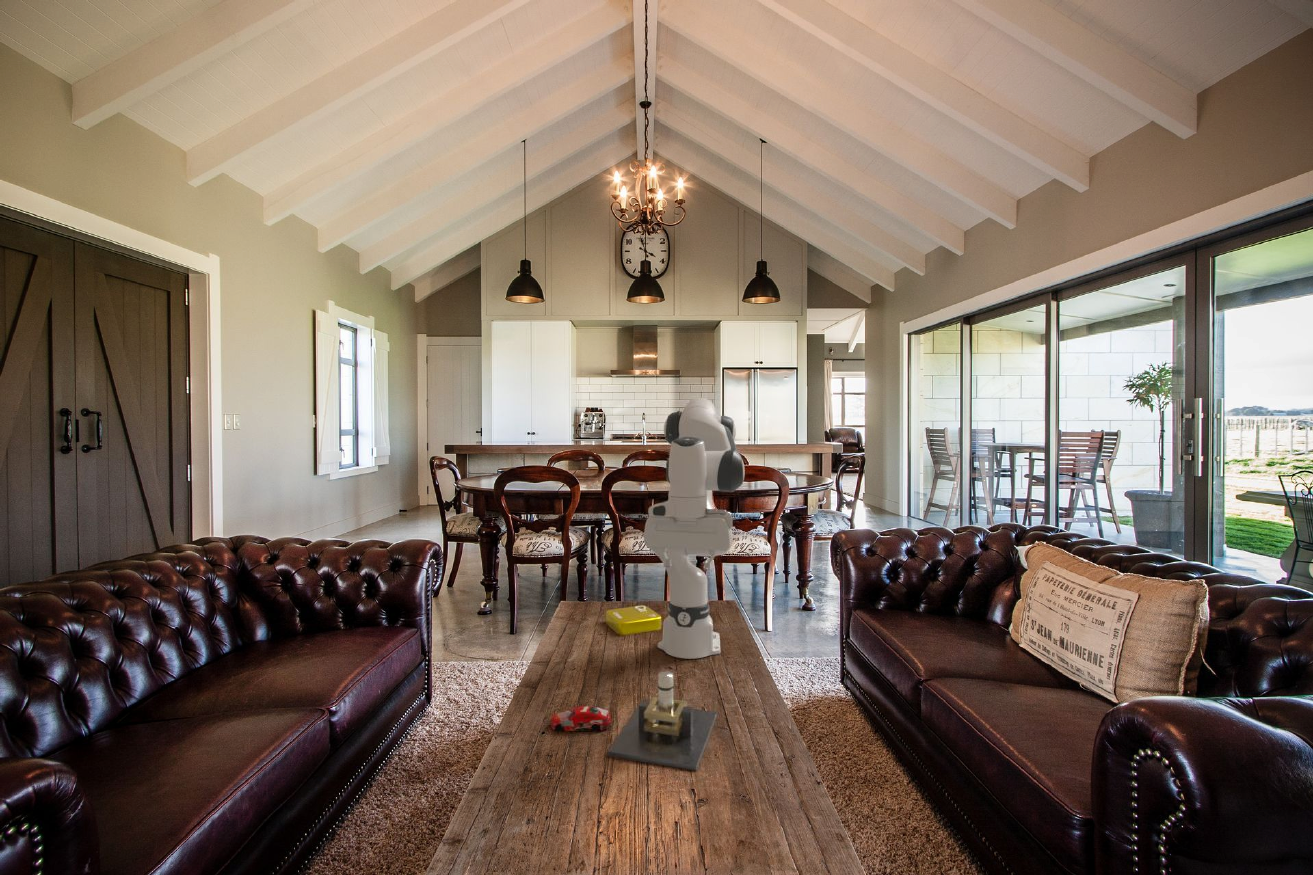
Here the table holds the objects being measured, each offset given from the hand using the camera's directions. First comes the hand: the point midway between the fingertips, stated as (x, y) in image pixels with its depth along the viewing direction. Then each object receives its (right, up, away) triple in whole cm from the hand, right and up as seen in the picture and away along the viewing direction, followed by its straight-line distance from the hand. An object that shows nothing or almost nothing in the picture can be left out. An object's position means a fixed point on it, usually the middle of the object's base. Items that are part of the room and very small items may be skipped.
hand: (687, 567), depth 136 cm
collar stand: (-5, -33, -10) cm, 35 cm away
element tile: (-15, -33, +59) cm, 69 cm away
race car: (-24, -34, -6) cm, 42 cm away
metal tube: (-5, -32, -10) cm, 34 cm away
